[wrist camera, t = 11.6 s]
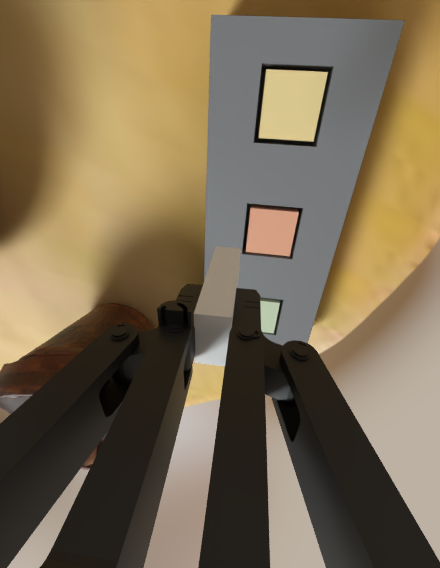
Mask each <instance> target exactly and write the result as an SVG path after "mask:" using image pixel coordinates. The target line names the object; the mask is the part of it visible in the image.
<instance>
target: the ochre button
mask: <svg viewBox="0 0 440 568" xmlns="http://www.w3.org/2000/svg"><path fill="white" fill-rule="evenodd" d="M327 74H328V72H316V71H293V70H271V69H266V76H265V84H264V93H263V102H262V111H261V120H260V129H259V138H266V139H281V140H296V141H311V142H314V137H315V132H316V127H317V122H318V117H319V113H320V108H321V103H322V98H323V93H324V89H325V84H326V79H327Z"/></svg>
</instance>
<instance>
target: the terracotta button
mask: <svg viewBox="0 0 440 568" xmlns="http://www.w3.org/2000/svg"><path fill="white" fill-rule="evenodd" d="M298 214H299V212H298V210H297V208H295V207H284V206H272V205H261V204H251V208H250V217H249V226H248V235H247V244H246V252H252V253H262V254H272V255H282V256H290V252H291V248H292V243H293V238H294V233H295V228H296V223H297V219H298Z"/></svg>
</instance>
